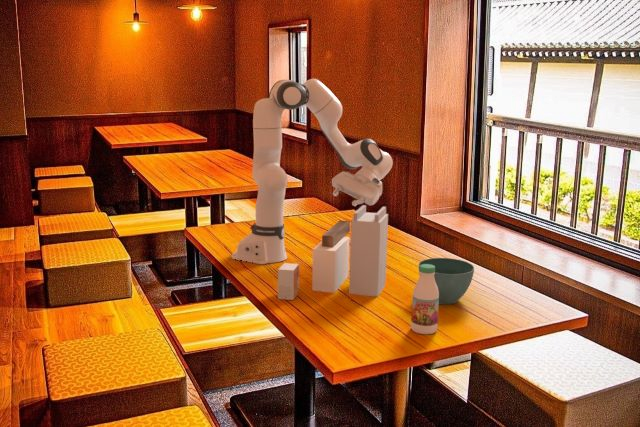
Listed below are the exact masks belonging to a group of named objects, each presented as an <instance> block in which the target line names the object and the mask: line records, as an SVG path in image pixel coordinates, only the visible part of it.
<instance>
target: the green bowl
mask: <svg viewBox="0 0 640 427" xmlns="http://www.w3.org/2000/svg"><path fill="white" fill-rule="evenodd" d="M422 264H430V265H434V266H435V274H434V279H435V282H436V285H437V287H438V291H439V305H452V304H453V305H454V304H456V303H457V302H458V301H460V300H461V298H462V297H463V296H464V295H465V294H466V293H467V291H468V289H469V287H470V285H471V284H472V283H471V282H472V281H473V280H472V279H473V276H474V272H475V267H474V265H473V264H471V263H470V262H468V261H465V260H462V259H456V258H450V257H432V258H427V259H423V260H421V261H420V262H419V263H418V268H419V267H420V265H422ZM418 274H419V276H420V273H419V272H418Z"/></svg>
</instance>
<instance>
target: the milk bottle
mask: <svg viewBox="0 0 640 427" xmlns="http://www.w3.org/2000/svg"><path fill="white" fill-rule="evenodd" d="M419 273H420V275H419V276H418V280H417V282H416V283H415V285H414V287H413V292H412V302H411V303H412V305H411V320H410V327H411V330H412V331H413V332H414V333H417V334H421V335H431V334H432V335H433V334H434V333H436V332H437V331H438V325H439V324H438V323H439V322H438V320H439V305H440V304H439V291H438V287H437V285H436V282H435V279H434V274H435V266H434V265H430V264H422V265H420V267H419V266H418V274H419Z"/></svg>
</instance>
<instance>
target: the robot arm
mask: <svg viewBox="0 0 640 427" xmlns="http://www.w3.org/2000/svg"><path fill="white" fill-rule="evenodd" d="M302 106H306V108H308V109H309V111H310V112H311V113H312V114H313V116H315V118H316V119H317V121H318V124H319V128H320V130H321V132H322V134H323V135H324V137H325V138H326V140H327V141H328V142H329V144H330V145H331V146H332V148H333V149H334V151H335V152H336V155H337V156H338V158H339V161H340V163H341V164H342V166H344V168H346V169H348V170H356V169H358V168H359V167H361V168H360V169H359V170H358V171H357V172H356V173H355V174H353V173H351V172H350V171H348V170H347V171H341V172H339V173H337V174H336V175H335V176H334V177H332V178H331V186H332V187H333V188H335V189H334V191H333V192H332V196H334V197H337V196H338V195H339V191H341V192H343V193H345V194H347V195H349V196H351V197H352V198H354V200H352V201H351V205H352V206H354V207H356V206H357V205H363V204H365V205H368V206H374V205H375V204H376V203H378V201H379V199H380V197H381V196H382V194H383V182H382V181H381V180H382V179H384V178H385V177H386V176H387V174H389V172H390V171H391V169H392V167H393V165H394V161H393V158H392V156H391V155H390V154H389V153H388V152H386V151H383V150H382V149H381V148H379V145H378V144H377V143H376V141H375V140H373V139H371V138H365V139H362V140H358V141H357V142H354V143H349V142H348V141H347V140H346V138H345V137H344V135H343V134H342V133H341V131H340V129H339V128H338V122H340V119H342V116H343V105H342V103H341V101H340V100H339V99H338V97H336V95H335V94H334V93H333V92H332V91H331V90H330V89H329V88H328V87H327V86H326V85H325V84H324V83H322V81H320V80H319V79H317V78H309V79H308V80H306V81H305V82H303V84H302V83H299V82H296V81H295V80H294V81H293V80H291V79H280V80H278V81H276V82H275V83H274V84H272V87H271V88H270V90H269V93H268V95H267V96H266V98H261V99H259V100H257V101H256V102H255V104H254V106H253V107H254V108H253V114H252V115H253V116H252V117H253V119H252V128H253V129H252V130H253V133H252V134H253V156H252V158H253V159H252V179H253V181H254V182H255V184H256V186H257V187H258V189H257V197H256V198H257V199H256V203H255V222H254V223H253V224H251V226H249V230H250V233H248V234H247V235H246V236H245V237H243V239H241V240H240V241H239V242H238V244H237V249H236V250H235V251H234V252H232V254H231V255H230V256H231V257H230V258H231V260H235V259H236V261H240V260H242V262H246V261H247V263H252V262H253V263H252V264H258V265H266V264H272V263H279V262H283V261H285V260H287V259H288V254H287V253H286V247H285V240H284V239H285V224H284V202H285V197H286V190H287V185H288V176H287V173H286V171H285V169H284V168H282V167H281V165H280V164H281V153H282V149H283V131H282V116H283V113H284V111H285V110H289V111H292V110H296V109H298V108H301V107H302Z"/></svg>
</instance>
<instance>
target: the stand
mask: <svg viewBox="0 0 640 427" xmlns="http://www.w3.org/2000/svg"><path fill="white" fill-rule="evenodd" d="M388 224H389V213H387V206H382V207H381V208H380V209H379V210H378V211H377V212H367V204H365V205H364V204H361V206H359V208H358V209H356V210H355V212H353V218H352V219H350V242H349V284H348V285H349V286H348V288H349V290H348V291H349V295H357V296H358V295H359V296H369V297H376V298H378V297H379V296H380V294H381V292H382V291H383V289H384V287H385V286H386V279H387V275H386V274H387V253H388V231H389V230H388V229H389V228H388V226H389V225H388Z"/></svg>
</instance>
